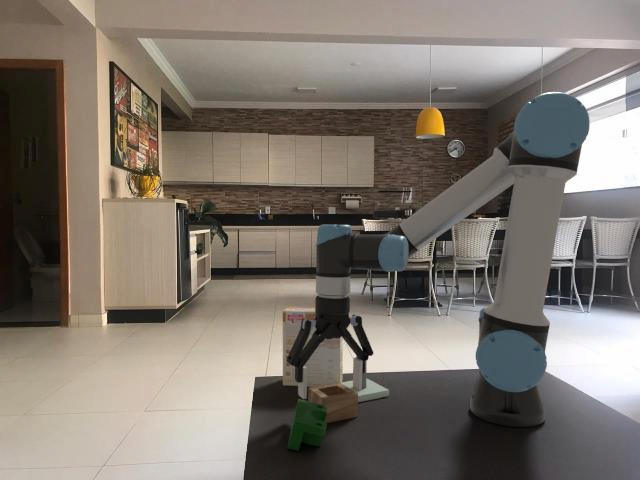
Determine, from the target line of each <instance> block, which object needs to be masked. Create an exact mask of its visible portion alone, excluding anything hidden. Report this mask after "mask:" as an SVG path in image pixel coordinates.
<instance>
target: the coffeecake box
mask: <svg viewBox="0 0 640 480" xmlns="http://www.w3.org/2000/svg"><path fill="white" fill-rule="evenodd" d="M315 317H316V313H315V306H311V307H310V306H287V307H286V308H285V309H283V310H282V386H284V387H285V386H289V387H298V382H297V381H296V380H295V366H292V365H290V364H289V363H288V362H287V361H286V360H287V357H288V355H289V353H290V351H291V349H292V346H293V344H294V342H295V340H296V338H297V336H298V333H299V331H300V329H301V321H302V319H304V318H305V319H307V320H314V319H315ZM315 330H316V328H315V326H313V329H312V330H310V334H309V336H308V339H307V341H306V343H305V345H304V347H305V346H306V345H307V343H308V342H309V340H310V339H311V338H312V334H313V333H314V332H315ZM319 336H320V335H319ZM343 340H344V339H343V338H342V337H340V338H333V339H326V338H325V340H324V341H323V342H321V343H320V344H319V346H318V347H317V349H316V350H315V351H314V353H313V354H312V356H311V357H310V358H309V360H308V361H307V362H306V364H305V365H304V366H305V367H307V388H310V387H316V386H322V385H328V384H334V383H341V382H343V375H344V374H343V368H344V367H343V361H344V360H343V350H344V349H343V345H344V344H343V343H344V342H343ZM304 347H303V349H304Z"/></svg>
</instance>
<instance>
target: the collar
mask: <svg viewBox="0 0 640 480" xmlns="http://www.w3.org/2000/svg"><path fill="white" fill-rule="evenodd" d="M307 392H308V393H307V396H308V397H307V399H308V400H307V401H309V402H313V403H317V404H321V405H323V406H325V407H326V408H327V414H326V418H325V422H327V424H330V423H334V422H338V421H343V420H349V419H354V418H357V417H359V402H358V393H356V392H355V391H353V390H351V389H350V388H348V387H346V386H345V385H343V384H342V383H334V384H328V385H322V386H316V387H307Z"/></svg>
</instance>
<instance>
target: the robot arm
mask: <svg viewBox="0 0 640 480" xmlns="http://www.w3.org/2000/svg"><path fill="white" fill-rule="evenodd" d="M590 123H591V122H590V115H589V112H588V110H587V108H586V106H585V105H584V104H583V102H582V101H580V100H579V99H578V98H577V97H575V96H573V95H571V94H568V93H566V92H559V91H552V92H545V93H542V94H539V95H537V96H535V97H533V98H531V99H530V100H529V101H528V102H526V103H525V104H524V106H522V107H521V108H520V110H519V111H518V112H517V115H516V117H515V120H514V125H513V131H511V133H510V134H509V136H508V137H506V138H505V140H504V141H502V142H501V143H499V144H498V145H497V146H495V148H494V149H493V153H492V156H490V157H489V158H487V159H486V160H485V161H483V162H482V163H481V164H479V165H478V166H477V167H475V168H473V169H472V170H471V171H470V172H467V174H466V175H464V176H463V177H462V178H460V179H458V181H456V182H455V183H453V184H452V185H451V186H450V187H448V188H446V190H444V191H443V192H441V193H440V194H439V195H437V196H436V197H434V198H433V199H432V200H430V201H429V202H427V203H426V204H425V205H423V206H422V207H421V208H419V209H418V210H417V211H416V212H414V213H413V214H412V215H410V216H409V217H407V218H406V219H405V220H403V221H402V222H401V223H399V224H398V225H397V226H395V227H393V228H392V229H391V230H390V231H389V232H388V231H387V232H386V233H385V234H358V233H353V231H352V226H351V225H350V224H327V223H325V224H320V225H319V226H318V228H317V234H316V243H315V248H316V251H315V253H316V256H315V257H316V261H315V262H316V264H315V265H316V266H315V267H316V269H315V271H316V272H315V293H316V294H317V295H316V297H315V301H314V302H315V303H314V305H315V306H314V307H315V313H316V317H315V319H314V320H307V319H305V318H304V319H302V321H301V329H300V331H299V333H298V336H297V338H296V340H295V342H294V344H293V346H292V349H291V351H290V353H289V355H288V357H287V360H286V361H287V362H288V363H289V364H290V365H292V366H295V380H296V381H297V382H298V386H297V395H298V396H299V397H300V398H301V399H302V400H306V399H308V397H307V396H308V393H307V392H308V387H307V367H305V366H304V365H305V364H306V362H307V361H308V360H309V358H310V357H311V356H312V354H313V353H314V351H315V350H316V349H317V347H318V346H319V344H320V343H321V342H323V341H324V340H325V338H326V339H333V338H340V337H342V338H343V340H344V342H345V343H346V344H347V345H348V347H349V348H350V349H351V350H352V352H353V353H354V354H355V355H356V356H357V357H358V358H357V357H356V356H355V357H353V360H352V363H353V364H352V366H353V367H352V381H353V386H354V387H355V388H357V389H358V390H362V373H365V361H368V360H369V357H371V356H373V355H374V350H373V348H372V346H371V343H370V341H369V338H368V336H367V334H366V330H365V328H364V326H363V317H362V316H360V315H357V314H352V316H350V312H351V298H350V297H349V295H350V294H351V271H352V270H366V271H367V270H368V271H378V272H379V271H380V272H381V271H383V272H387V273H391V272H403V271H405V270H406V268H407V266H408V261H409V258H410V257H412V256H413V255H415V254H417V252H418V251H420V250H421V249H423V248H424V247H425V246H428V244H430V243H431V242H432V241H434V240H436V239H437V238H438V237H440V236H441V235H442V234H444V233H445V232H447V231H448V230H450V229H451V228H453V227H454V226H456V225H457V224H458V223H460V222H461V221H462V220H464V219H465V218H467V217H468V216H469V215H471V214H473V213H474V212H475V211H477V210H478V209H480V208H482V206H484V205H486V204H487V203H488V202H489V201H491V200H492V199H495V197H497V196H498V195H500V194H502V192H504V191H506V190H507V189H509V188H510V187H512V186H513V188H512V192H511V193H512V194H511V198H510V203H509V204H510V205H509V211H508V216H507V218H508V219H507V223H506V228H505V235H504V240H503V246H502V253H501V258H500V263H499V268H498V269H499V270H498V275H497V276H498V277H497V281H496V288H495V293H494V301H493V302H492V303H491V304H490V305H489V304H488V306H487V307H482V308H481V309H480V310H479V317H478V318H477V319H478V324H479V325H478V327H479V329H478V343H477V347H476V351H475V361H476V362H475V363H476V365H477V367H478V375H477V379H476V382H475V385H474V387H473V392H472V394H471V396H470V405H469V406H470V407H469V409H470V412H471V413H472V414H473V415H474V416H475V417H477V418H479V419H481V420H483V421H485V422H489V423H491V424H494V425H495V424H496V425H499V426H506V427H513V428H528V427H529V428H530V427H535V426H538V425H541V424H542V423H544V422H545V420H546V408H545V405H544V403H543V401H542V397H541V393H540V390H539V387H538V385H539V383H540V382H541V381H542V379H543V378H544V376H545V373H546V370H547V365H548V362H547V355H546V348H547V342H548V335H549V330H550V323H551V322H550V320H549V319H548V318H547V317H546V315H545V314H544V308H545V307H544V306H545V301H546V294H547V288H548V284H549V283H548V282H549V279H550V274H551V273H550V272H551V267H552V260H553V255H554V250H555V244H556V239H557V233H558V229H559V222H560V216H561V211H562V210H561V209H562V205H563V199H564V194H565V187H566V183H567V182H569V181H570V180H572V179H573V178H574V177H576V176H577V174H578V167H579V163H580V159H581V158H580V157H581V154H582V153H581V152H582V147H583V144H584V142H585V141H586V140H587V137H588V135H589V132H590ZM313 326H315V328H316V330H315V332H314V333H313V334H312V338H311V339H310V340H309V342H308V343H307V345H306V346H305V347H304V345H305V343H306V341H307V339H308V336H309V334H310V330H312V329H313ZM350 326H352V328H353V331H354V333H355V335H356V338H357V339H358V340H357V341H358V342H357V341H356V340H355V339H354V337H353V335H352V333H350V331H349V330H348V327H350ZM319 335H320V336H319ZM359 344H360V345H359ZM303 347H304V349H303Z"/></svg>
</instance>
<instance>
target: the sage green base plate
mask: <svg viewBox="0 0 640 480" xmlns="http://www.w3.org/2000/svg"><path fill="white" fill-rule="evenodd" d="M355 357H357V356H355ZM357 358H358V357H357ZM367 361H368V360H367ZM367 361H365V373H362V390H358V389H357V388H355V387H354V386H353V380H348V381H347V380H346V381H342V382H341V383H342V384H343V385H345V386H346V387H348V388H350V389H351V390H353V391H355V392H356V393H358V403H361V402H366V401H372V400H377V399H378V400H379V399H383V398H388V397H390V389H388V388H387V387H384V386H382V385H380V384H378V383H376V382H374V381H373V380H371V379H369V378H367V370H368V369H367V364H368V363H367ZM382 397H383V398H382Z"/></svg>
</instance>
